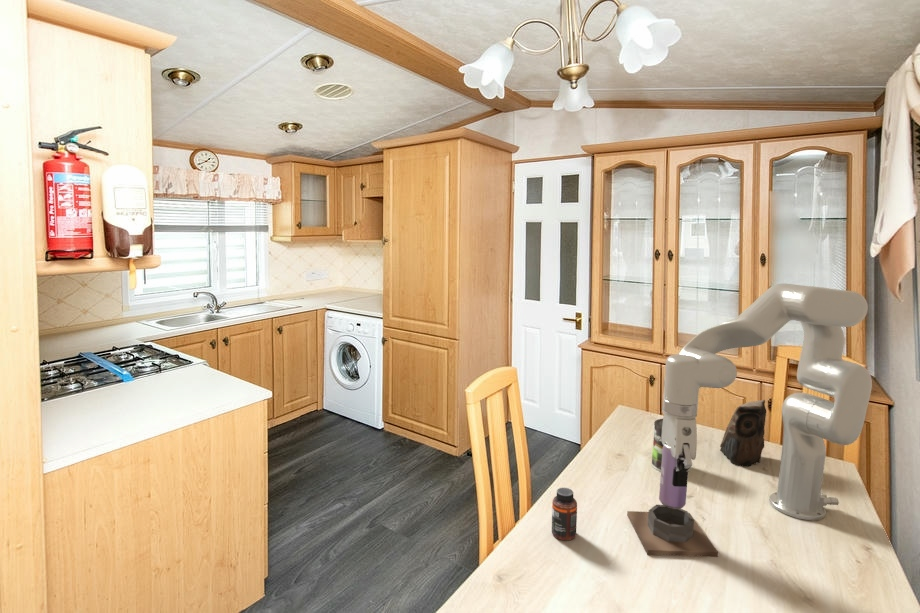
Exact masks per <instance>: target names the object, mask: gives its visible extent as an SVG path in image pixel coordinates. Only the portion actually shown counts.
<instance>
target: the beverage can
mask: <svg viewBox="0 0 920 613" xmlns="http://www.w3.org/2000/svg"><path fill="white" fill-rule="evenodd" d="M679 457H683V455H679ZM683 462H684V460H679V465H680V464H681V463H683ZM673 469H675V458H674V457H673V456H672V455H671V451H670V448H669V447H668V446H667V445H666V444H665V442H664V445H663V449H662V464H661V472H660V479H659V480H660V481H659V495H658V499H659V502H660V503H661V505H664V506H666V507H668V508H672V509H683V508H684V507H685V506H686V504H687V491H688V485H687V486H686V487H678V486H673V485H672V481H673ZM688 480H689V479H687V481H688Z"/></svg>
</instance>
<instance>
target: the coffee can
mask: <svg viewBox="0 0 920 613" xmlns="http://www.w3.org/2000/svg"><path fill="white" fill-rule="evenodd" d="M662 423H663V418H659V419H656V420H654V423H653V424H654V428H653V440H652V441H653V442H652V454H651V455H652V456H651V463H650V464H651V467H652V468H653V469H655V470H656V471H658V472H660V473H661V464H662V449H663V444H662V441H661V434H662Z"/></svg>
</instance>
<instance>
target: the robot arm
mask: <svg viewBox="0 0 920 613" xmlns="http://www.w3.org/2000/svg"><path fill="white" fill-rule="evenodd" d="M868 306H869V304H868V302H867V300H866V298H865V297H864V295H862V294H861V293H859V292H856V291H852V290H845V289H836V288H830V287H829V288H828V287H822V286H821V287H820V286H814V285H813V286H811V285H810V286H809V285H800V284H792V283H777V284H774V285H772V286H771V287H769V288H768V289H766V290H765V292H763V293H762V294H761V295H760V296H759V297H758V298H756V300H755V301H754V302H752V303H751V304H750V305H749V306H748V307H747V308H746V309H745V310H743V311H742V312H741V313H740V314H739V315H738V316H737V317H735V318H734V319H730V320H727V321H724V322H721V323H719V324H717V325H714V326H711V327H709V328H707V329H705V330H702V331H701V332H699V333H698V334H696V335H695V336H694V337H692V339H690V340H689V341H688V342H687V343H686V344H685V345H684V346H683V347H682V348H681V350H680V351H679V352H678V353H677V354H672V355H669V356H667V357H666V360H665V371H664V383H663V393H662V394H663V395H662V397H663V398H662V409H661V410H662V411H661V412H662V413H663V417H662V419H663V423H662V434H661V441H662V444H663V445H664V442H665V444H666V445H667V446H668V447H669V448H670V451H671V455H672V456H673V457H674V458H675V469H673V481H672V485H673V486H678V487H686V486H687V487H688V480H689V479H688V478H689V472H690V468H691V467H692V466H693V461H694V460H696V458H697V443H698V442H697V441H698V440H697V439H698V436H697V435H698V432H697V419H696V418H697V417H698V408H699V395H700V394H699V392H700V389H701V388H709V389H710V388H711V389H721V388H725V387H728V386H730V385H732V384H733V383H734V382H735V380H736V378H737V376H738V370H737V366H736V365H735V364H734V362H733V361H732V360H730V359H729V358H728V357H724V356H722V355H720V354H718V353H720V352H723V351H726V350H730V349H738V348H739V349H740V348H750V347H757V346H758V347H759V346H762V345H764V344H767V342H768V341H769V340H770V339H771V338H772V337H774V335H776V334H777V333H778V332H779V331H780V330H781V329H782V328H784V326H785V325H786V324H788V323H789V322H790V321H795V322H800V324H801V326H802V329H803V341H802V346H801V352H800V356H799V359H798V360H799V361H798V365H797V371H796V379H797V382H798V383H799V385H800V386H802V387H803V388H806V389H808V390H811V391H812V392H813V391H814V392H815V393H816V392H817V393H820V394H823V395H826V396H829V397H833V398H834V400H833V401H831V400H829V399H826V398H824V397H820V396H817V395H813V394H810V393H806V392H794V393H791V394H789V395H788V396H787V397H786V398H785V399H784V400H783V401H782V402H783V403H782V406H781V417H782V418H781V419H782V426H783V432H782V433H783V434H782V448H781V456H780V457H781V458H780V465H779V474H778V483H777V489H776V490H777V491H776V492H773V493H771V494H770V496H769V503H770V505H772V507H773V508H775V510H777V511H779V512H781V513H783V514H785V515H788V516H790V517H793V518H796V519H800V520H806V521H819V520H822V519H823V518H825V517H826V508H825V507H826V506H827V505H829V506H838V505H839V504H840V502H839V499H838V498H837V497H836V496H835V497H834V496H833V497H832V496H830V497H828V496H827V493H824V492H823V493H822V487H823V486H822V484H823V478H824V477H823V476H824V469H825V463H826V456H827V447H826V443H825V440H826V441H829V442H831V443H834V444H837V445H840V446H849V445H851V444H854V443H855V442H856V441H857V440H858V438H859V437H860V435H861V433H862V430H863V427H864V423H865V419H866V415H867V411H868V406H869V402H870V398H871V394H872V389H873V381H872V380H873V379H872V376H871V374H870V371H869V370H868V369H867V368H866V367H865V366H863V365H861V364H859V363H856V362H852V361H848V360H845V359H843V352H844V346H845V334H844V331H843V329H842V327H843V328H847V327H848V328H849V327H854V326H857V325H859V323H862V321H863V320H864V319H865V318H866V316H867V314H868V310H869V309H868V308H869V307H868ZM679 455H683V457H679ZM679 460H684V462H683V463H681V464H680V465H679ZM687 479H688V480H687Z"/></svg>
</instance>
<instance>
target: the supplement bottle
mask: <svg viewBox="0 0 920 613" xmlns="http://www.w3.org/2000/svg"><path fill="white" fill-rule="evenodd" d="M551 508H552V509H551V510H552V511H551V534H552V536H554V537H555V538H556V539H557V540H561V541H571V540H573V539H575V538H576V535H577V521H578V515H577V514H578V503H577V500H576V498H574V491H573V490H572V489H571V488H569V487H559V488H557V489H556V495H555V496H554V497H553V499H552V507H551Z"/></svg>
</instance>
